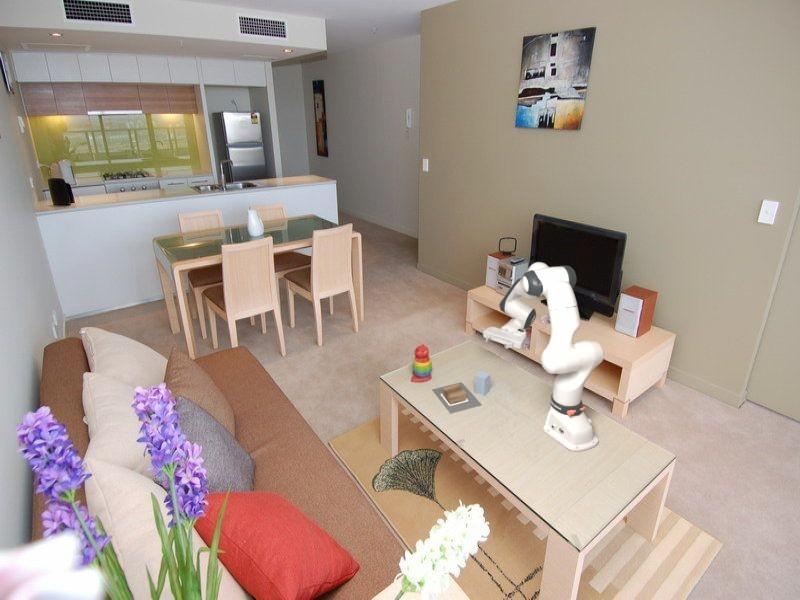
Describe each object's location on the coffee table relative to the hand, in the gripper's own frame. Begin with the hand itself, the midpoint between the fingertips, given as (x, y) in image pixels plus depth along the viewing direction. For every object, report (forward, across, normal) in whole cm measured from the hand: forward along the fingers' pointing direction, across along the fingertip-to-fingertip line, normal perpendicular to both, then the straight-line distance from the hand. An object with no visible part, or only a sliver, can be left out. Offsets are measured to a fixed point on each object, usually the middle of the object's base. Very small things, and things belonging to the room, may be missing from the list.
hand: (496, 344), depth 218 cm
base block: (+24, -8, +20) cm, 32 cm away
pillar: (+12, 0, +20) cm, 24 cm away
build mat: (+23, -7, +20) cm, 31 cm away
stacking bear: (+18, -30, +21) cm, 41 cm away
